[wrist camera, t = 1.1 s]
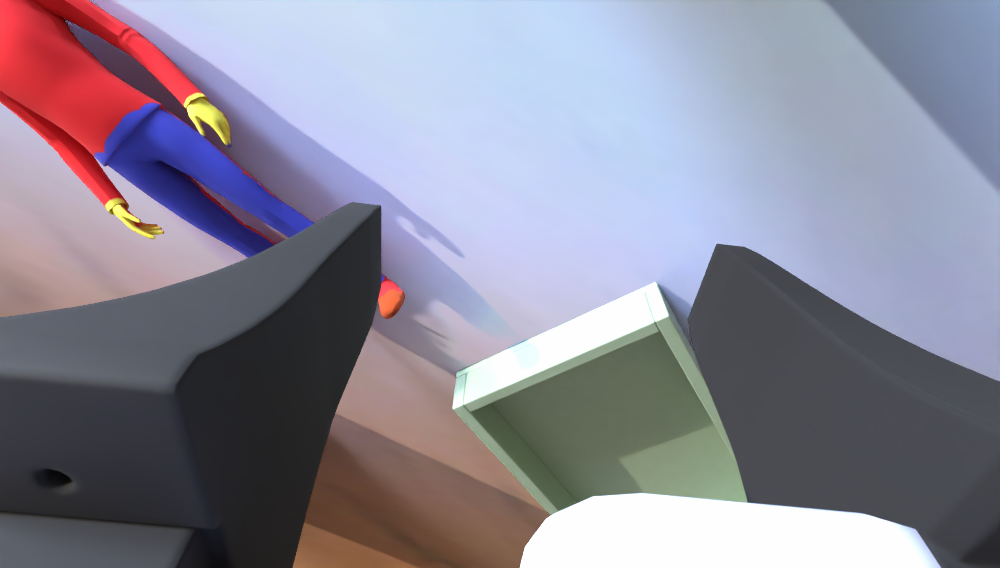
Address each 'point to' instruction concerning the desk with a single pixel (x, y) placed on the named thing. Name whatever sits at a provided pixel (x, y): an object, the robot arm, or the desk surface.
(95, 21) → the character figure
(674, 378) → the tray
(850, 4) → the desk surface
